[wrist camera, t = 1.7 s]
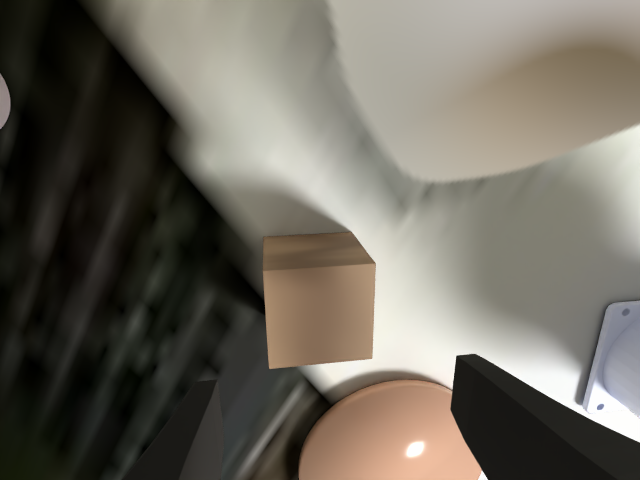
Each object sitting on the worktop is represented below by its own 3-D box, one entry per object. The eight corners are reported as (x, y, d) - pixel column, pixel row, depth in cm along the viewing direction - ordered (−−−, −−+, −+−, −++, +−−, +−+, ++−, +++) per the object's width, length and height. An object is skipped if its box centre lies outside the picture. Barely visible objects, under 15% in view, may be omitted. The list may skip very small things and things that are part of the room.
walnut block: (351, 231, 19) (375, 263, 15) (350, 309, 21) (372, 358, 17) (263, 236, 19) (263, 270, 15) (268, 316, 20) (269, 368, 16)
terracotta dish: (488, 368, 23) (498, 378, 22) (467, 509, 27) (474, 523, 26) (294, 388, 22) (296, 400, 21) (300, 535, 25) (302, 551, 24)
